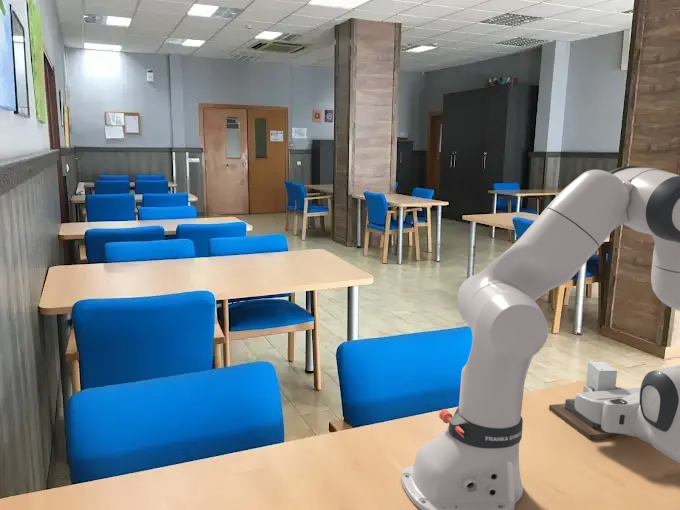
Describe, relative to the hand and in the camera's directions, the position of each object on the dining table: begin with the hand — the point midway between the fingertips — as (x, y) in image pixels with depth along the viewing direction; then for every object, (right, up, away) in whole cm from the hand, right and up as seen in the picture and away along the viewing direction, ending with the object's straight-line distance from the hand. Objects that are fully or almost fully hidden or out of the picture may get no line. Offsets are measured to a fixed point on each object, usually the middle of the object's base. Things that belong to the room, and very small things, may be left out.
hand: (597, 388), depth 133 cm
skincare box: (0, -6, 0) cm, 6 cm away
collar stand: (0, -8, +1) cm, 8 cm away
